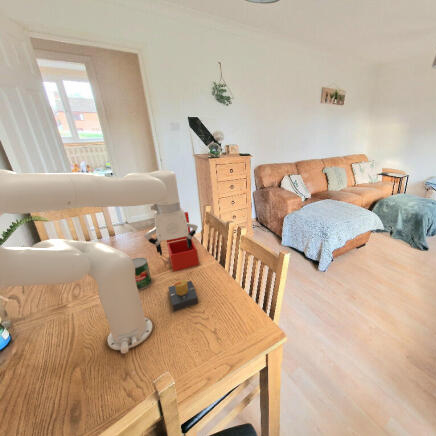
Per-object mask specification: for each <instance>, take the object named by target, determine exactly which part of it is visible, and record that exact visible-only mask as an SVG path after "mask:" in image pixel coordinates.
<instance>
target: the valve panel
mask: <svg viewBox="0 0 436 436" xmlns="http://www.w3.org/2000/svg"><path fill="white" fill-rule="evenodd" d="M187 285H188V292H187V293H186V294H185V295H181V296H180V295H177V294H176V288H175V284H174V285H171V286H168V287H167V288H168V294H169V298H170V302H171V307H172V311H173V312H176V311H179V310H182V309H185V308H188V307H191V306H194V305H196V304H199V298H198V295H197V292H196V290H195V287H194V284H193V281H192V280H188V281H187Z"/></svg>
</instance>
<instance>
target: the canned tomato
mask: <svg viewBox="0 0 436 436" xmlns="http://www.w3.org/2000/svg"><path fill="white" fill-rule="evenodd" d="M131 259H132V260H133V262H134V265H135V280H136V285H137V289H138V291H139V290H143V289H146V288H148V287H149V286H151V284H152V282H153V280H152V276H151V272H150V268H149V263H148V259H147V258H145V257H134V258H131Z"/></svg>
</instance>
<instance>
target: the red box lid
mask: <svg viewBox="0 0 436 436" xmlns="http://www.w3.org/2000/svg"><path fill="white" fill-rule="evenodd" d="M184 213H185V217H186V221H187V223H190V217H189V212H188V211H184ZM188 232H189V233H190V232H191V228H190V227H188ZM185 239H186V236H185V237H181V238H176V239H171V240H166V243H170V242H175V241H180V240H185Z"/></svg>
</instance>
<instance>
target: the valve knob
mask: <svg viewBox="0 0 436 436" xmlns="http://www.w3.org/2000/svg"><path fill="white" fill-rule="evenodd" d="M187 282H188V281H187V279H178V280H177V281H175V282H174V285H175V288H176V294H177V295H180V296H181V295H185V294H186V293H187V292H188V285H187Z"/></svg>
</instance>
